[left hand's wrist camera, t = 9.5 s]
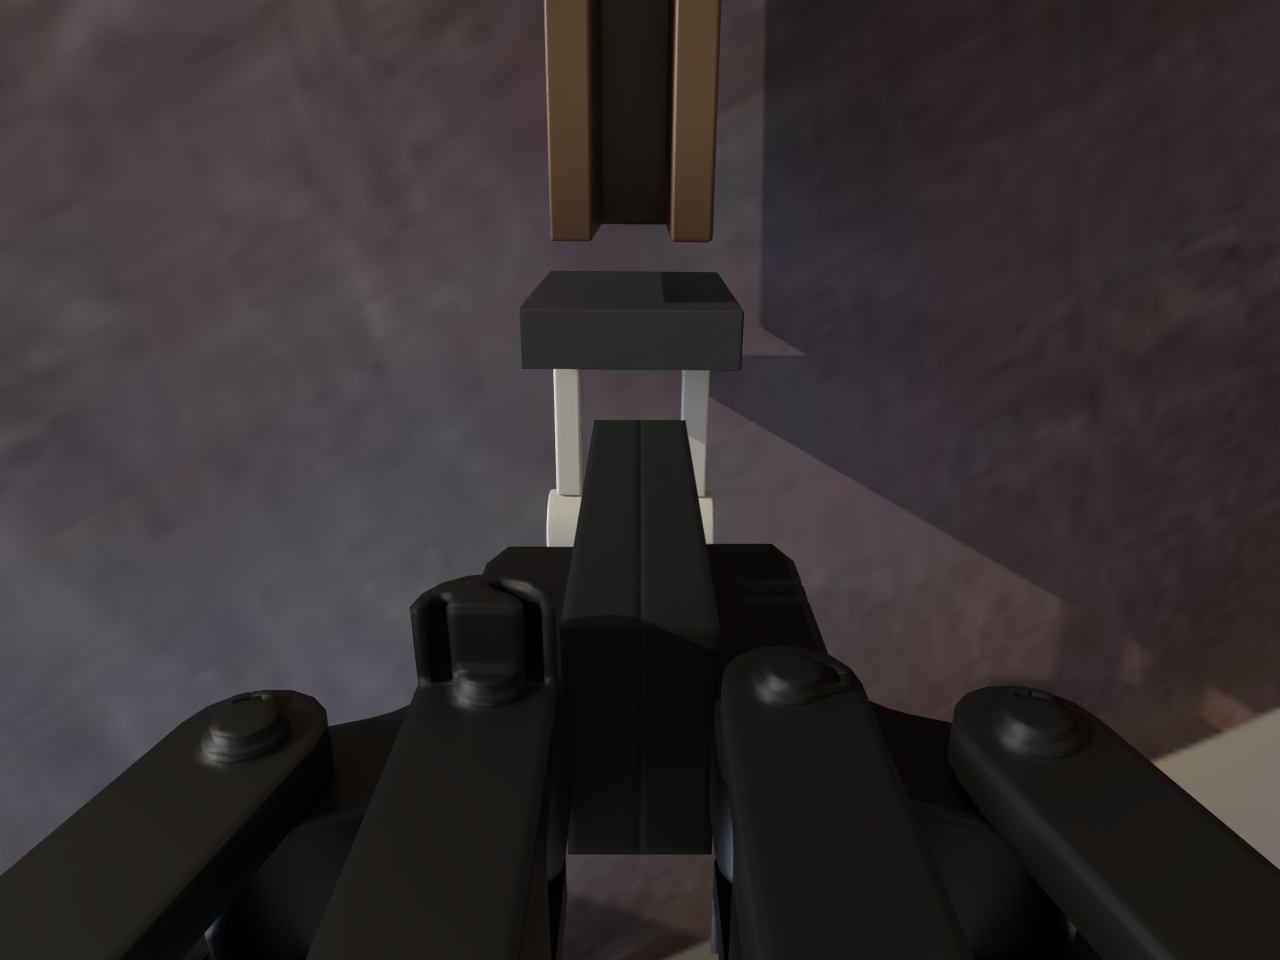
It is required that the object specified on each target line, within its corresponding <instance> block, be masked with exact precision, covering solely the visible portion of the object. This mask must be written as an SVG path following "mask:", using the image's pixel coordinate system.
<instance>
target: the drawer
mask: <svg viewBox="0 0 1280 960" xmlns="http://www.w3.org/2000/svg"><path fill="white" fill-rule="evenodd" d="M720 21H721V0H544V27H545V64H546V101H547V138H548V176H549V213H550V238H551V240H553V241H590V240H592V238H593V236H594V235H595V233H596V232H597V230H598V229H599V227H600V226H601V224H666V226H667V229H668V232H669V234H670V237H671V240H672V241H674V242H710V241H711V240H712V238H713V212H714V185H715V157H716V130H717V103H718V76H719V48H720ZM743 324H744V311H743V310H742V308H741V307H740V305H739V304H738V302H737V301H736V299H735V298H734V296H733V295H732V293H731V292H730V290H729V289H728V287H727V286H726V284H725V283H724V281H723V280H722V279H721V277H720V276H719V274H718V273H717V272H618V271H550V272H549V273H548V274H547V276H546V277H545V278H544V279H543V280H542V282H541V283H540V284H539V285H538V286H537V287H536V289H535V290H534V291H533V292H532V293H531V295H530V296H529V297H528V298H527V299H526V300H525V302H524V303H523V304H522V305H521V306H520V308H519V309H518V330H519V355H520V367H521V368H522V369H554V405H555V442H556V479H557V489H552V490H551V491H550V494H549V499H548V509H547V547H573V545H574V539H575V533H576V527H577V522H578V516H579V510H580V504H581V498H582V492H583V486H584V483H583V417H582V369H605V370H682V393H681V420H686V426H687V432H688V438H689V444H690V450H691V456H692V462H693V468H694V474H695V480H696V486H697V492H698V498H699V504H700V510H701V516H702V522H703V527H704V533H705V539H706V544H714V531H715V520H714V500H713V494H712V492H711V491H709V490H706V464H707V437H708V411H709V384H710V370H715V371H739V370H741V364H742V344H743Z"/></svg>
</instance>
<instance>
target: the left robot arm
mask: <svg viewBox="0 0 1280 960" xmlns="http://www.w3.org/2000/svg"><path fill="white" fill-rule="evenodd" d="M807 599H808V598H807V596H806V593H805V590H804V588H803V586H801V580H800V577H799V574H798V572H797V569H796V566H795V564H794V561H793V560H791V559H790V558H789V557H788V556H786V555H785V554H784V553H782V552H781V551H780V550H779V549H777V548H776V547H775V546H774V545H772V544H706V539H705V533H704V527H703V522H702V516H701V510H700V504H699V498H698V492H697V486H696V480H695V474H694V468H693V462H692V456H691V450H690V444H689V438H688V432H687V426H686V420H594V426H593V432H592V438H591V444H590V450H589V456H588V462H587V468H586V474H585V480H584V486H583V492H582V498H581V504H580V510H579V516H578V522H577V527H576V533H575V539H574V545H573V547H508V548H506V549H505V550H504V551H503V552H501V553H500V554H499V555H498V556H496V557H495V558H494V559H492V560H491V561H490V562H489V563H487V564H486V567H485V570H484V572H483V575H473V576H466V577H462V578H458V579H455V580H451V581H448V582H444V583H441V584H439V585H437V586H436V587H434V588H432V589H430V590H428V591H426V592H424V593H423V594H421V595H420V597H419V598H418V599H417V600H416V601H415V602H414V603H413V604H412V605H411V607H410V613H411V623H412V632H413V641H414V650H415V659H416V668H417V677H418V686H417V689H416V691H415V694H414V696H413V699H412V701H411V703H410V705H408V706H406V707H403V708H401V709H399V710H396V711H394V712H391V713H387V714H384V715H380V716H376V717H373V718H368V719H363V720H358V721H354V722H349V723H344V724H339V725H334V726H329V727H328V720H327V714H326V709H325V708H324V707H323V706H322V705H321V704H320V703H319V702H318V701H317V700H316V699H315V698H314V697H311V696H308V695H305V694H302V693H299V692H296V691H293V690H262V691H253V692H251V693H249V692H247V693H243V694H239V695H235V696H233V697H231V698H228V699H226V700H223V701H220V702H218V703H215V704H213V705H210V706H208V707H206V708H204V709H203V710H201V711H199V712H198V713H196V714H195V715H193V716H192V717H190V718H189V719H187V720H186V721H184V722H183V723H181V724H180V725H179V726H178V727H176V728H175V729H174V730H173V731H172V732H171V733H169V734H168V735H167V736H166V737H165V738H163V739H162V740H161V741H160V742H159V743H157V744H156V745H155V746H154V747H153V748H152V749H150V750H149V751H148V752H147V753H146V754H144V755H143V756H142V757H141V758H140V759H139V760H137V761H136V762H135V763H134V764H133V765H131V766H130V767H129V768H128V769H127V770H125V771H124V772H123V773H122V774H121V775H120V776H118V777H117V778H116V779H115V780H114V781H112V782H111V783H110V784H109V785H108V786H107V787H105V788H104V789H103V790H102V791H101V792H99V793H98V794H97V795H96V796H95V797H93V798H92V799H91V800H90V801H89V802H88V803H86V804H85V805H84V806H83V807H82V808H80V809H79V810H78V811H77V812H76V813H75V814H73V815H72V816H71V817H70V818H69V819H67V820H66V821H65V822H64V823H63V824H61V825H60V826H59V827H58V828H57V829H56V830H54V831H53V832H52V833H51V834H50V835H48V836H47V837H46V838H45V839H44V840H42V841H41V842H40V843H39V844H38V845H37V846H35V847H34V848H33V849H32V850H31V851H29V852H28V853H27V854H26V855H25V856H24V857H22V858H21V859H20V860H19V861H18V862H16V863H15V864H14V865H13V866H12V867H10V868H9V869H8V870H7V871H6V872H5V873H3V874H2V875H1V876H0V960H561V956H562V945H563V934H564V924H565V913H566V903H567V883H566V858H565V857H566V848H567V838H568V854H712V834H713V843H714V853H715V858H714V883H713V907H712V932H711V953H718V954H719V960H1280V870H1279V869H1278V868H1277V867H1276V866H1275V865H1273V864H1272V863H1271V862H1270V861H1269V860H1267V859H1266V858H1265V857H1264V856H1263V855H1261V854H1260V853H1259V852H1258V851H1257V850H1255V849H1254V848H1253V847H1252V846H1251V845H1249V844H1248V843H1247V842H1246V841H1245V840H1243V839H1242V838H1241V837H1240V836H1239V835H1237V834H1236V833H1235V832H1234V831H1233V830H1231V829H1230V828H1229V827H1228V826H1227V825H1225V824H1224V823H1223V822H1222V821H1221V820H1220V819H1218V818H1217V817H1216V816H1215V815H1214V814H1212V813H1211V812H1210V811H1209V810H1208V809H1206V808H1205V807H1204V806H1203V805H1202V804H1200V803H1199V802H1198V801H1197V800H1196V799H1194V798H1193V797H1192V796H1191V795H1190V794H1188V793H1187V792H1186V791H1185V790H1184V789H1182V788H1181V787H1180V786H1179V785H1178V784H1176V783H1175V782H1174V781H1173V780H1172V779H1170V778H1169V777H1168V776H1167V775H1166V774H1164V773H1163V772H1162V771H1161V770H1160V769H1159V768H1157V767H1156V766H1155V765H1154V764H1153V763H1151V762H1150V761H1149V760H1148V759H1147V758H1145V757H1144V756H1143V755H1142V754H1141V753H1139V752H1138V751H1137V750H1136V749H1135V748H1133V747H1132V746H1131V745H1130V744H1129V743H1127V742H1126V741H1125V740H1124V739H1123V738H1121V737H1120V736H1119V735H1118V734H1117V733H1115V732H1114V731H1113V730H1112V729H1111V728H1110V727H1108V726H1107V725H1106V724H1105V723H1104V722H1102V721H1101V720H1100V719H1099V718H1097V717H1096V716H1094V715H1092V714H1091V713H1089V712H1088V711H1086V710H1085V709H1083V708H1082V707H1080V706H1078V705H1077V704H1075V703H1074V702H1071V701H1068V700H1066V699H1063V698H1061V697H1058V696H1055V695H1053V694H1050V693H1048V692H1046V691H1042V690H1038V689H1034V688H1031V689H1029V688H1028V687H1020V686H987V687H984V688H981V689H978V690H975V691H972V692H969V693H967V694H966V695H965V696H964V697H963V698H962V699H961V700H960V701H959V702H958V703H957V704H956V705H955V707H954V714H953V720H952V723H950V722H945V721H940V720H935V719H931V718H926V717H921V716H916V715H911V714H907V713H903V712H899V711H896V710H892V709H888V708H886V707H883V706H881V705H879V704H876V703H874V702H872V701H869V700H868V697H867V695H866V692H865V690H864V687H863V685H862V683H861V682H860V680H859V679H858V678H857V676H856V675H855V674H854V672H853V671H852V670H851V668H849V667H848V666H846V665H845V664H843V663H841V662H840V661H838V660H837V659H835V658H833V657H832V656H830V655H828V652H827V649H826V647H825V644H824V641H823V639H822V636H821V633H820V631H819V628H818V625H817V623H816V620H815V617H814V615H813V612H812V609H811V607H810V604H809V603H808V601H807Z"/></svg>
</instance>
